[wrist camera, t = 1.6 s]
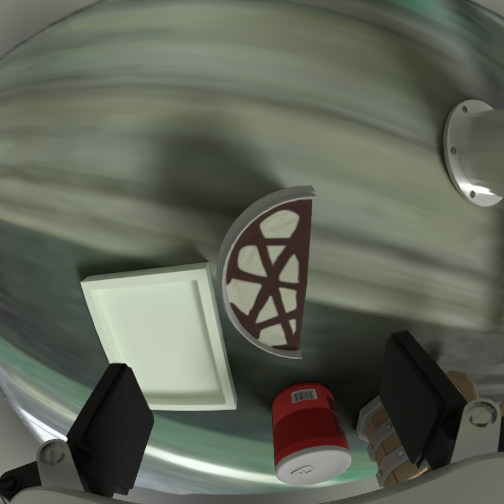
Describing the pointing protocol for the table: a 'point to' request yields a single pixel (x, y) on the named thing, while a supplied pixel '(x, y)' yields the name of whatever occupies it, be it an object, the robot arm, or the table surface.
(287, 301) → the food container
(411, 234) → the table surface
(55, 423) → the table surface
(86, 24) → the table surface
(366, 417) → the tankard
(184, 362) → the tray
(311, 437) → the canned food
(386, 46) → the table surface
